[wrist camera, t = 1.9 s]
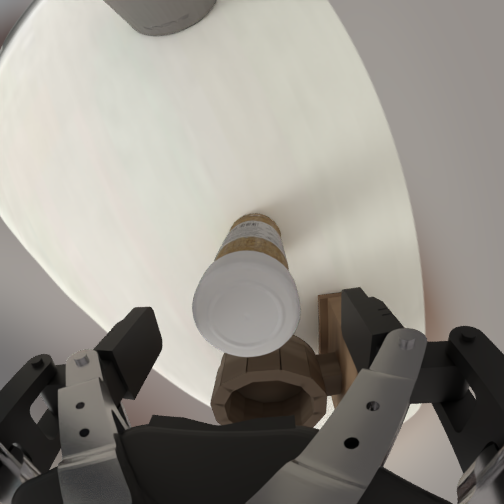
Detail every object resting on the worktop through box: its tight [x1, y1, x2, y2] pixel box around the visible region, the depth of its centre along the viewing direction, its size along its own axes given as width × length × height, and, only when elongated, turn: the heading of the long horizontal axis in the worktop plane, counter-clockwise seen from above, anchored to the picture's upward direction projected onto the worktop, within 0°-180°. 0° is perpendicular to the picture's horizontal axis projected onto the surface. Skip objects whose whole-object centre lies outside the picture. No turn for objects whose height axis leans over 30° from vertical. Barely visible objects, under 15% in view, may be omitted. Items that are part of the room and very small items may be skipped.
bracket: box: [210, 292, 358, 428], centre depth 21 cm, size 10×12×12 cm
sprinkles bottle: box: [192, 214, 301, 357], centre depth 17 cm, size 5×5×13 cm
